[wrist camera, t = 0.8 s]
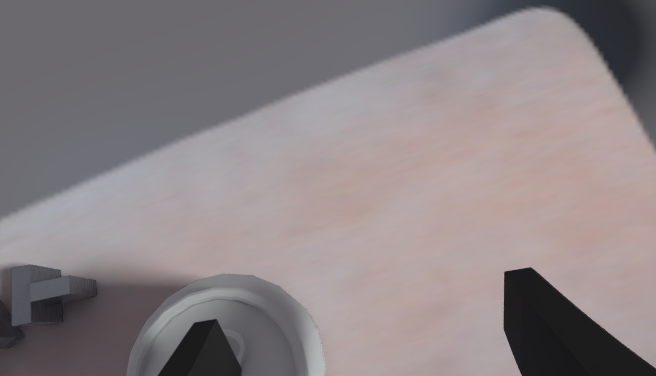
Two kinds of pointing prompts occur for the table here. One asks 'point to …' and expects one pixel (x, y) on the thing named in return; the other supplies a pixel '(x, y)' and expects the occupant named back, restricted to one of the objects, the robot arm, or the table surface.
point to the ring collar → (39, 299)
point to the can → (235, 327)
